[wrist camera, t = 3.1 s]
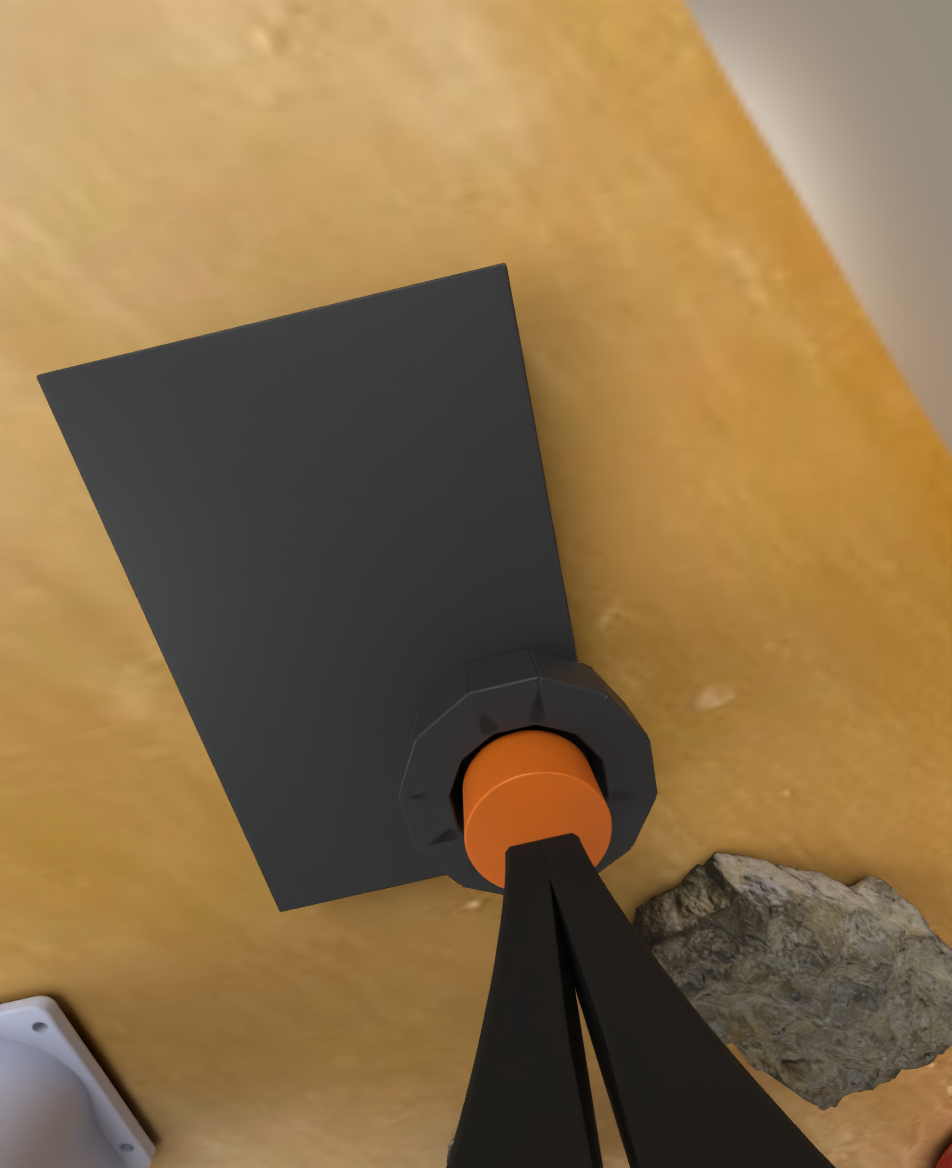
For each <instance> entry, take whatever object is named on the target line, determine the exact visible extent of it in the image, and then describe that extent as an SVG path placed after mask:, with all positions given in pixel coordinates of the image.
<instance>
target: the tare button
mask: <svg viewBox="0 0 952 1168" xmlns="http://www.w3.org/2000/svg"><path fill="white" fill-rule="evenodd" d="M463 811H464V841H465V847H466V851H467V854H468V857H469V859H470V861H471V862H472V864H473V866H474V867H475V868H476V870H477V871H478V872H479V873H480V874H481V875H482V876H483V877H484V878H486V879H487V880H488V881H490V882H491V883H493V884H495V885H497V886H499V887H501V888H504V885H505V852H506V851H507V849H508V848H509V847H510V846H514V845H519V844H523V843H528V842H532V841H537V840H541V839H546V838H550V837H555V836H559V835H564V834H568V833H574V834H575V835H577V836H579V838H580V841H581V843H582V845H583V847H584V849H585V851H586V853H587V855H588V857H589V859H590V860H591V862H592V864H593V866H594V867H596V866H597V865H598V863H599V862H600V861H601V859H602V858H603V856H604V854H605V853H606V851H607V848H608V846H609V843H610V839H611V834H612V820H611V815H610V811H609V808H608V806H607V804H606V801H605V799H604V797H603V795H602V793H601V790H600V788H599V786H598V784H597V781H596V779H595V777H594V775H593V772H592V770H591V768H590V766H589V763H588V761H587V759H586V757H585V756H584V754H583V753H582V752H581V751H580V750H579V748H578V747H577V746H575V745H574V744H573V743H572V742H570V741H569V740H567V739H565V738H564V737H561V736H559V735H557V734H554V733H551V732H547V731H541V730H523V731H517V732H513V733H509V734H506V735H504V736H501V737H499V738H497V739H495V740H493V741H492V742H490V743H489V744H487V745H486V746H485V747H484V748H482V749H481V750H480V751H479V752H478V753H477V755H476V756H475V757H474V758H473V760H472V761H471V763H470V765H469V766H468V769H467V771H466V773H465V777H464V781H463Z"/></svg>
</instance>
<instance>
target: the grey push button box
mask: <svg viewBox="0 0 952 1168" xmlns="http://www.w3.org/2000/svg"><path fill="white" fill-rule="evenodd" d="M37 379H38V382H39V384H40V386H41V388H42V390H43V393H44V395H45V397H46V399H47V401H48V403H49V406H50V408H51V410H52V412H53V414H54V417H55V419H56V421H57V423H58V425H59V428H60V430H61V432H62V434H63V436H64V439H65V441H66V443H67V445H68V447H69V450H70V452H71V454H72V456H73V458H74V461H75V463H76V465H77V467H78V469H79V472H80V474H81V476H82V478H83V480H84V483H85V485H86V487H87V489H88V491H89V494H90V496H91V498H92V500H93V502H94V505H95V507H96V509H97V511H98V513H99V516H100V518H101V520H102V522H103V524H104V527H105V529H106V531H107V533H108V535H109V538H110V540H111V542H112V544H113V546H114V548H115V551H116V553H117V555H118V557H119V559H120V562H121V564H122V566H123V568H124V570H125V573H126V575H127V577H128V579H129V581H130V584H131V586H132V588H133V590H134V592H135V595H136V597H137V599H138V601H139V603H140V606H141V608H142V610H143V612H144V614H145V617H146V619H147V621H148V623H149V625H150V628H151V630H152V632H153V634H154V636H155V639H156V641H157V643H158V645H159V647H160V650H161V652H162V654H163V656H164V658H165V661H166V663H167V665H168V667H169V669H170V672H171V674H172V676H173V678H174V680H175V682H176V685H177V687H178V689H179V691H180V693H181V696H182V698H183V700H184V702H185V704H186V707H187V709H188V711H189V713H190V715H191V718H192V720H193V722H194V724H195V726H196V729H197V731H198V733H199V735H200V737H201V740H202V742H203V744H204V746H205V748H206V751H207V753H208V755H209V757H210V759H211V762H212V764H213V766H214V768H215V770H216V773H217V775H218V777H219V779H220V781H221V784H222V786H223V788H224V790H225V792H226V795H227V797H228V799H229V801H230V803H231V806H232V808H233V810H234V812H235V814H236V817H237V819H238V821H239V823H240V825H241V827H242V830H243V832H244V834H245V836H246V838H247V841H248V843H249V845H250V847H251V849H252V852H253V854H254V856H255V858H256V860H257V863H258V865H259V867H260V869H261V871H262V874H263V876H264V878H265V880H266V882H267V885H268V887H269V889H270V891H271V893H272V896H273V898H274V900H275V902H276V904H277V907H278V909H279V911H280V912H283V911H287V910H292V909H296V908H301V907H305V906H310V905H314V904H319V903H323V902H327V901H332V900H336V899H341V898H345V897H350V896H354V895H359V894H363V893H368V892H372V891H376V890H381V889H385V888H390V887H394V886H399V885H403V884H408V883H412V882H417V881H421V880H425V879H430V878H434V877H439V876H443V875H448V876H449V877H451V878H452V879H453V880H454V881H456V882H457V883H458V884H461V885H462V886H463V887H467V888H472V889H477V890H482V891H487V892H492V893H497V894H502V895H504V888H501V887H499V886H497V885H495V884H493V883H491V882H490V881H488V880H487V879H486V878H484V877H483V876H482V875H481V874H480V873H479V872H478V871H477V870H476V868H475V867H474V866H473V864H472V862H471V861H470V859H469V857H468V854H467V851H466V847H465V841H464V811H463V781H464V777H465V773H466V771H467V769H468V766H469V765H470V763H471V761H472V760H473V758H474V757H475V756H476V755H477V753H478V752H479V751H480V750H481V749H482V748H484V747H485V746H486V745H487V744H489V743H490V742H492V741H493V740H495V739H497V738H499V737H501V736H504V735H506V734H509V733H513V732H517V731H523V730H541V731H547V732H551V733H554V734H557V735H559V736H561V737H564V738H565V739H567V740H569V741H570V742H572V743H573V744H574V745H575V746H577V747H578V748H579V750H580V751H581V752H582V753H583V754H584V756H585V757H586V759H587V761H588V763H589V766H590V768H591V770H592V772H593V775H594V777H595V779H596V781H597V784H598V786H599V788H600V790H601V793H602V795H603V797H604V799H605V801H606V804H607V806H608V808H609V811H610V815H611V820H612V834H611V839H610V843H609V846H608V848H607V851H606V853H605V854H604V856H603V858H602V859H601V861H600V862H599V863H598V865H597V866H596V867H595V869H596V871H597V872H598V873H599V872H600V871H602V870H603V869H604V868H606V867H607V866H608V865H610V864H611V863H612V862H614V861H615V860H617V859H618V858H619V857H621V856H622V855H623V854H625V853H626V852H627V851H629V850H630V849H631V846H633V845H634V843H635V841H636V839H637V836H638V834H639V832H640V830H641V828H642V826H643V824H644V822H645V820H646V818H647V816H648V814H649V812H650V810H651V807H652V805H653V803H654V801H655V799H656V795H657V787H656V779H655V772H654V765H653V758H652V751H651V743H650V739H649V738H648V735H647V734H646V732H645V731H644V730H643V728H642V727H641V725H640V724H639V722H638V721H637V720H636V718H635V717H634V715H633V714H632V712H631V711H630V710H629V708H628V707H627V705H626V704H625V703H624V702H623V701H622V700H621V698H620V697H619V696H618V695H617V694H616V693H615V692H614V691H613V690H612V689H611V688H610V687H609V686H608V685H607V684H606V683H605V682H604V680H603V679H602V678H601V677H600V676H599V675H598V674H597V673H596V672H595V671H594V670H593V669H592V668H591V667H590V666H588V665H586V664H584V663H580V662H578V660H577V654H576V649H575V643H574V638H573V632H572V627H571V621H570V615H569V610H568V604H567V599H566V593H565V588H564V582H563V576H562V571H561V565H560V560H559V554H558V549H557V543H556V537H555V532H554V526H553V521H552V515H551V510H550V504H549V498H548V493H547V487H546V482H545V476H544V471H543V465H542V459H541V454H540V448H539V443H538V437H537V432H536V426H535V420H534V415H533V409H532V404H531V398H530V393H529V387H528V381H527V376H526V370H525V365H524V359H523V354H522V348H521V342H520V337H519V331H518V326H517V320H516V315H515V309H514V303H513V298H512V292H511V287H510V281H509V276H508V270H507V265H506V264H505V263H502V264H497V265H493V266H489V267H485V268H481V269H477V270H473V271H468V272H464V273H460V274H456V275H452V276H448V277H443V278H439V279H435V280H431V281H427V282H423V283H418V284H414V285H410V286H406V287H402V288H398V289H393V290H389V291H385V292H381V293H377V294H373V295H368V296H364V297H360V298H356V299H352V300H348V301H343V302H339V303H335V304H331V305H327V306H323V307H319V308H314V309H310V310H306V311H302V312H298V313H294V314H289V315H285V316H281V317H277V318H273V319H269V320H264V321H260V322H256V323H252V324H248V325H244V326H239V327H235V328H231V329H227V330H223V331H219V332H214V333H210V334H206V335H202V336H198V337H194V338H190V339H185V340H181V341H177V342H173V343H169V344H165V345H160V346H156V347H152V348H148V349H144V350H140V351H135V352H131V353H127V354H123V355H119V356H115V357H110V358H106V359H102V360H98V361H94V362H90V363H85V364H81V365H77V366H73V367H69V368H65V369H61V370H56V371H52V372H48V373H44V374H40V375H37Z"/></svg>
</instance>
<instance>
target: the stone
mask: <svg viewBox="0 0 952 1168" xmlns="http://www.w3.org/2000/svg"><path fill="white" fill-rule="evenodd" d="M632 926H633V927H634V929H635V930H636V931H637V933H638V934H639V936H640V937H641V938H642V940H643V941H644V943H645V944H646V945H647V947H648V948H649V950H650V951H651V952H652V954H653V955H654V956H655V958H656V959H657V960H658V962H659V963H660V964H661V966H662V967H663V968H664V970H665V971H666V972H667V974H668V975H669V976H670V978H671V979H672V980H673V981H674V983H675V984H676V985H677V986H678V988H679V989H680V990H681V991H682V993H683V994H684V995H685V997H686V998H687V999H688V1000H689V1002H690V1003H691V1004H692V1005H693V1007H694V1008H695V1009H696V1010H697V1012H698V1013H699V1014H700V1015H701V1017H702V1018H703V1019H704V1020H705V1021H706V1023H707V1024H708V1025H709V1026H710V1028H711V1029H712V1030H713V1031H714V1032H715V1034H716V1035H717V1036H718V1037H719V1038H720V1040H721V1041H722V1042H723V1043H724V1044H725V1046H727V1045H728V1044H729V1043H730V1042H732V1043H734V1044H736V1045H737V1047H738V1049H739V1050H740V1052H741V1054H742V1055H743V1056H744V1058H745V1059H746V1060H747V1061H748V1063H749V1064H750V1065H751V1066H752V1067H753V1068H754V1069H756V1070H762V1071H764V1072H766V1073H768V1074H769V1075H770V1076H772V1077H773V1078H775V1079H776V1080H778V1081H779V1082H780V1083H782V1084H783V1085H785V1086H786V1087H788V1088H789V1089H791V1090H792V1091H793V1092H795V1093H796V1094H798V1095H799V1096H800V1097H801V1098H803V1099H804V1100H806V1101H808V1102H810V1103H812V1104H814V1105H817V1106H818V1107H819V1109H821V1110H826V1109H827V1108H829V1107H830V1106H832V1107H836V1106H837V1105H838V1103H839V1102H840V1100H841V1099H842V1098H843V1097H844V1096H846V1095H848V1094H851V1093H854V1092H862V1091H866V1090H873V1089H874V1088H875V1087H877V1086H878V1085H879V1084H883V1083H886V1082H889V1081H890V1080H891V1079H895V1077H896V1076H897V1075H898V1074H899V1072H900V1071H901V1070H902V1069H903V1070H907V1069H914V1068H920V1067H923V1066H925V1065H928V1064H930V1063H931V1062H933V1061H934V1060H935V1058H936V1057H937V1055H939V1054H943V1053H944V1052H945V1050H946V1049H948V1048H949V1047H950V1046H952V948H951V947H950V946H949V945H948V944H947V943H945V942H944V941H943V940H942V939H941V938H939V937H938V936H937V935H936V934H935V933H933V931H932V930H931V929H930V927H929V925H928V924H927V922H926V921H925V920H924V918H923V917H922V916H921V914H920V913H919V911H918V910H917V908H916V907H915V906H913V905H912V904H911V903H909V902H908V901H906V900H905V899H903V898H902V897H901V896H899V895H898V894H897V893H896V891H895V890H894V889H893V888H892V887H891V886H890V885H888V884H887V883H886V882H884V881H883V880H881V879H879V878H876V877H874V876H867V877H866V878H864V879H862V880H861V881H859V882H858V883H856V884H855V885H853V886H848V887H847V886H846V885H844V884H843V883H841V882H840V881H837V880H834V879H832V878H830V877H829V876H827V875H825V874H823V873H821V872H816V871H803V870H800V869H793V868H792V867H790V866H789V867H786V866H783V865H780V864H779V865H777V866H775V865H774V864H772V863H771V862H768V861H766V860H761V859H755V858H750V857H746V856H742V855H729V854H726V853H723V854H722V853H718V852H716V853H715V854H714V855H713V856H712V857H711V858H710V859H709V860H708V862H707V863H706V864H705V866H704V867H703V866H700V865H697V866H696V867H695V868H694V869H693V870H692V871H691V872H690V873H689V874H688V875H687V876H686V878H685V879H684V880H683V883H682V884H681V885H680V886H679V887H677V888H675V889H673V890H671V891H669V892H666V893H664V894H661V895H659V896H656V897H654V898H652V900H651V901H650V903H648V904H644V905H641V906H639V907H638V908H636V918H635V920H634V922H633V924H632Z"/></svg>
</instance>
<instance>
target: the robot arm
mask: <svg viewBox="0 0 952 1168" xmlns="http://www.w3.org/2000/svg"><path fill="white" fill-rule="evenodd" d="M575 989H576V992H577V995H578V999H579V1002H580V1005H581V1009H582V1012H583V1015H584V1018H585V1022H586V1025H587V1028H588V1031H589V1035H590V1038H591V1041H592V1044H593V1048H594V1051H595V1054H596V1057H597V1061H598V1064H599V1067H600V1071H601V1074H602V1077H603V1080H604V1084H605V1087H606V1090H607V1093H608V1097H609V1100H610V1103H611V1106H612V1110H613V1113H614V1116H615V1119H616V1123H617V1126H618V1129H619V1132H620V1136H621V1139H622V1142H623V1145H624V1149H625V1152H626V1155H627V1158H628V1162H629V1165H630V1168H835V1167H834V1166H833V1165H832V1163H831V1162H830V1161H829V1160H828V1159H827V1158H826V1157H825V1156H824V1155H823V1154H822V1153H821V1152H820V1151H819V1150H818V1149H817V1148H816V1147H815V1146H814V1145H813V1144H812V1143H811V1141H810V1140H809V1139H808V1138H807V1137H806V1136H805V1135H804V1134H803V1133H802V1132H801V1131H800V1129H799V1128H798V1127H797V1126H796V1125H795V1124H794V1123H793V1122H792V1121H791V1119H790V1118H789V1117H788V1116H787V1115H786V1114H785V1113H784V1112H783V1111H782V1109H781V1108H780V1107H779V1106H778V1105H777V1104H776V1103H775V1102H774V1101H773V1099H772V1098H771V1097H770V1096H769V1095H768V1094H767V1093H766V1092H765V1091H764V1089H763V1088H762V1087H761V1086H760V1085H759V1084H758V1083H757V1081H756V1080H755V1079H754V1078H753V1077H752V1076H751V1075H750V1073H749V1072H748V1071H747V1070H746V1069H745V1068H744V1066H743V1065H742V1064H741V1063H740V1062H739V1061H738V1060H737V1058H736V1057H735V1056H734V1055H733V1054H732V1053H731V1051H730V1050H729V1049H728V1048H727V1047H726V1046H725V1044H724V1043H723V1042H722V1041H721V1040H720V1038H719V1037H718V1036H717V1035H716V1034H715V1032H714V1031H713V1030H712V1029H711V1028H710V1026H709V1025H708V1024H707V1023H706V1021H705V1020H704V1019H703V1018H702V1017H701V1015H700V1014H699V1013H698V1012H697V1010H696V1009H695V1008H694V1007H693V1005H692V1004H691V1003H690V1002H689V1000H688V999H687V998H686V997H685V995H684V994H683V993H682V991H681V990H680V989H679V988H678V986H677V985H676V984H675V983H674V981H673V980H672V979H671V978H670V976H669V975H668V974H667V972H666V971H665V970H664V968H663V967H662V966H661V964H660V963H659V962H658V960H657V959H656V958H655V956H654V955H653V954H652V952H651V951H650V950H649V948H648V947H647V945H646V944H645V943H644V941H643V940H642V938H641V937H640V936H639V934H638V933H637V931H636V930H635V929H634V927H633V926H632V924H631V923H630V922H629V920H628V919H627V917H626V916H625V914H624V913H623V912H622V910H621V909H620V907H619V906H618V904H617V903H616V901H615V900H614V898H613V896H612V895H611V893H610V892H609V890H608V889H607V887H606V885H605V884H604V882H603V881H602V879H601V877H600V876H599V874H598V872H597V871H596V869H595V867H594V866H593V864H592V862H591V860H590V859H589V857H588V855H587V853H586V851H585V849H584V847H583V845H582V843H581V841H580V838H579V836H577V835H575V834H574V833H568V834H564V835H559V836H555V837H550V838H546V839H541V840H537V841H532V842H528V843H523V844H519V845H514V846H510V847H509V848H508V849H507V851H506V852H505V885H504V897H503V907H502V915H501V924H500V931H499V937H498V943H497V950H496V956H495V963H494V969H493V975H492V981H491V986H490V991H489V996H488V1000H487V1005H486V1010H485V1015H484V1020H483V1024H482V1029H481V1034H480V1039H479V1044H478V1048H477V1053H476V1057H475V1061H474V1065H473V1069H472V1074H471V1078H470V1082H469V1086H468V1090H467V1094H466V1098H465V1102H464V1105H463V1109H462V1113H461V1117H460V1120H459V1124H458V1128H457V1132H456V1135H455V1139H454V1143H453V1146H452V1150H451V1153H450V1157H449V1160H448V1164H447V1167H446V1168H603V1164H602V1158H601V1151H600V1145H599V1138H598V1132H597V1126H596V1119H595V1113H594V1106H593V1100H592V1094H591V1087H590V1081H589V1075H588V1068H587V1062H586V1055H585V1049H584V1043H583V1036H582V1030H581V1024H580V1017H579V1011H578V1005H577V998H576V992H575ZM155 1152H156V1149H155V1146H154V1145H153V1143H152V1142H151V1140H150V1139H149V1137H148V1136H147V1134H146V1133H145V1131H144V1130H143V1128H142V1127H141V1126H140V1124H139V1123H138V1121H137V1120H136V1118H135V1117H134V1115H133V1114H132V1112H131V1111H130V1109H129V1108H128V1107H127V1105H126V1104H125V1102H124V1101H123V1099H122V1098H121V1096H120V1095H119V1093H118V1092H117V1090H116V1089H115V1088H114V1086H113V1085H112V1083H111V1082H110V1080H109V1079H108V1077H107V1076H106V1074H105V1073H104V1072H103V1070H102V1069H101V1067H100V1066H99V1064H98V1063H97V1061H96V1060H95V1058H94V1057H93V1055H92V1054H91V1053H90V1051H89V1050H88V1048H87V1047H86V1045H85V1044H84V1042H83V1041H82V1039H81V1038H80V1036H79V1035H78V1034H77V1032H76V1031H75V1029H74V1028H73V1026H72V1025H71V1023H70V1022H69V1020H68V1019H67V1017H66V1016H65V1015H64V1013H63V1012H62V1010H61V1009H60V1007H59V1006H58V1004H57V1003H56V1002H55V1001H54V1000H53V999H52V998H50V997H48V996H43V995H42V996H34V997H30V998H25V999H21V1000H16V1001H12V1002H8V1003H3V1004H0V1168H147V1167H148V1166H149V1165H150V1164H151V1162H152V1159H153V1157H154V1155H155Z"/></svg>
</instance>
